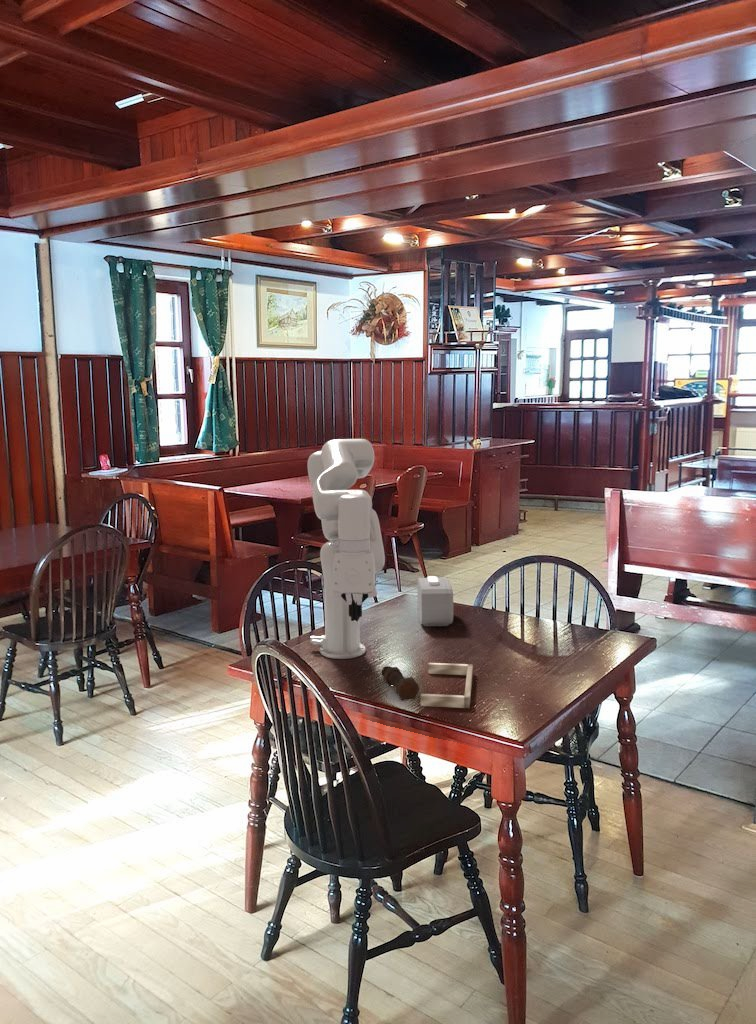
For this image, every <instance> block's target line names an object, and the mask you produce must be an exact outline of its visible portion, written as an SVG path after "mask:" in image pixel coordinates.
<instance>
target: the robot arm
mask: <svg viewBox="0 0 756 1024" xmlns="http://www.w3.org/2000/svg"><path fill="white" fill-rule="evenodd" d="M374 450H375V449H374V448H373V444H372V443H371V442H370V441H369V440H368V439H366V438H337V439H330V440H328V441H326V442H325V443H324V444H323V446H322V448H321V450H318V451H316V452H313V453H312V454H310V455H309V457H308V459H307V474H308V479H309V483H310V485H311V488H312V503H313V508H314V512H315V515H316V517H317V518H318V519H319V520H321V529H322V533H323V535H324V538H325V539H327V540H328V541H327V542H325V543H324V544H323V545H322V546H321V548H320V551H319V557H320V559H319V560H320V563H321V569H322V576H323V591H324V593H323V596H324V598H323V599H324V634H323V635H321V636H317V635H311V636H310V637H309V638H310V639H309V642H310V643H311V644H312V645H314V646H319V645H320V647H319V653H320V655H322V656H324V657H326V658H329V659H336V660H337V659H338V660H347V659H354V658H357V657H360V656H362V655H364V654H365V652H366V646H365V645H364V644H362V643H361V641H360V639H361V635H360V634H361V633H360V618H361V617H362V616H363V608H362V607H363V603H364V602H365V601H367V599H369V598H370V599H371V598H374V597H376V596H377V595H378V591H377V573H379V572H380V571H382V570H383V569H384V567H385V562H386V556H385V549H384V542H383V538H382V537H383V535H382V532H381V525H380V520H379V517H378V514H377V512H376V510H374V509H373V500H372V496H371V495H370V494H369V492H368V491H366V490H364V489H351V488H352V487H353V486H354V485H355V484H356V482H357V480H358V479H363V478H365V477H367V475H369V473H370V472H371V470H372V469H373V467H374V463H375V451H374Z"/></svg>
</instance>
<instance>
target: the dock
mask: <svg viewBox="0 0 756 1024" xmlns="http://www.w3.org/2000/svg"><path fill="white" fill-rule="evenodd" d="M427 665H428V674H431V675H454V676H466V678H465V685H464V686H465V688H464V695H459V694H440V693H439V694H437V693H420V707H434V708H435V707H436V708H437V707H439V708H454V709H455V708H459V709H470V705H471V694H472V685H473V673H474V672H473V671H474V670H473V669H474V668H473V667H474V665H473V664H471V663H467V664H466V663H450V662H449V663H444V662H428V663H427Z"/></svg>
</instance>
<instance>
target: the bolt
mask: <svg viewBox="0 0 756 1024" xmlns="http://www.w3.org/2000/svg"><path fill="white" fill-rule="evenodd" d="M380 673H381V676H382V678H383V680H384V682H385V683H386V685H387V684H388V685H389V686H388V687H394V691H395V692H396V694H397V696H398V698H399V699H400V698H401V699H402V700H401V699H400V700H401V701H410V700H409V699H411V700H414V699H416V697H417V695H418V694H419V690H420V687H419V686H420V685H419V684H418V683H417V681H416V679H415V678H414V677H412V676H411V677H404V675H403V673H402V671H401V670H400V669H399V667H397V666H387V665H385V666H384V667H383V668H382V669H381V671H380ZM391 685H393V686H391Z"/></svg>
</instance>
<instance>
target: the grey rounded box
mask: <svg viewBox="0 0 756 1024" xmlns="http://www.w3.org/2000/svg"><path fill="white" fill-rule="evenodd" d="M416 590H417V592H416V593H417V595H416V596H417V612H418V618H419V622H420V625H423V627H448V626H449V625H451V624H453V621H454V591H453V588H452V585H451V582H450V580H449V579H448V577H438V576H436V575H429V576H426V577H418V578H417V589H416Z"/></svg>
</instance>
